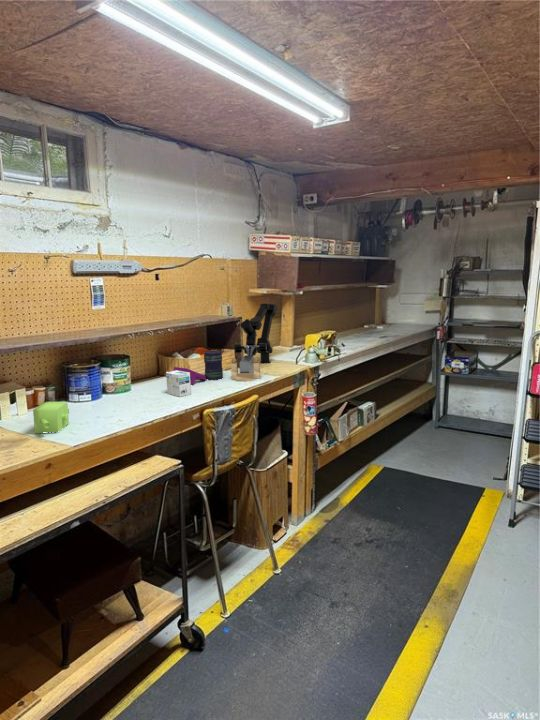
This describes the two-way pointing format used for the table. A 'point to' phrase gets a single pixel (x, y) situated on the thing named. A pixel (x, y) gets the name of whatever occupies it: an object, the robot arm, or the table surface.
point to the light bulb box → (178, 383)
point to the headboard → (245, 376)
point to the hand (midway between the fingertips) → (249, 359)
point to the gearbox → (51, 417)
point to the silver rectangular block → (247, 364)
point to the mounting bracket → (191, 374)
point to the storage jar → (213, 364)
